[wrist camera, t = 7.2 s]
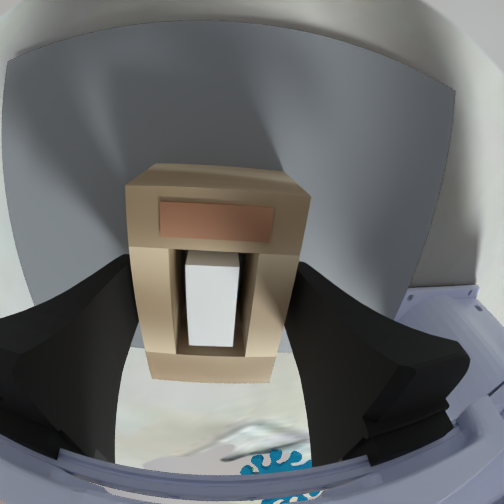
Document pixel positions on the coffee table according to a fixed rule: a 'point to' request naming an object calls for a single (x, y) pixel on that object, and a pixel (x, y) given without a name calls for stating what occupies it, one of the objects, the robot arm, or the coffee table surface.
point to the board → (223, 152)
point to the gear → (275, 468)
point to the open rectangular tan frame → (214, 239)
